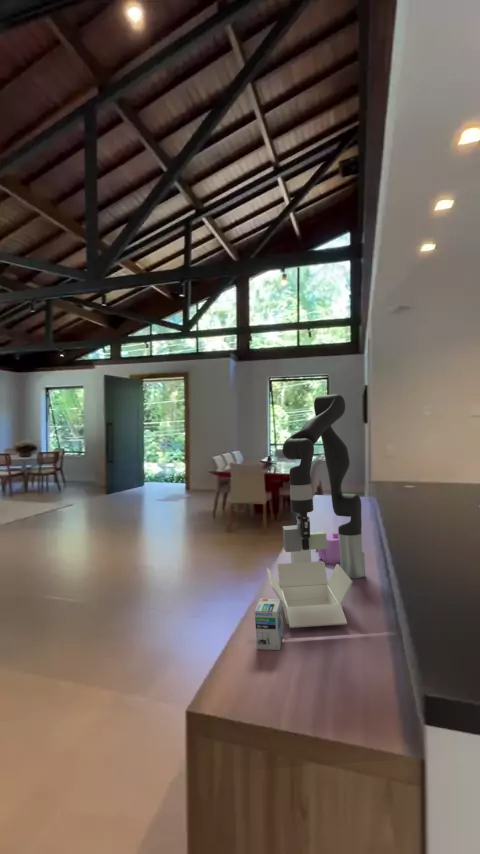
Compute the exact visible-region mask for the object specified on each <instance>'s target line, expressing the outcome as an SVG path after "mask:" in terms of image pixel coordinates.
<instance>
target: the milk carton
mask: <svg viewBox="0 0 480 854" xmlns="http://www.w3.org/2000/svg"><path fill="white" fill-rule="evenodd" d="M311 551H312V550H301V551H296V552H290V563H303V562H312V554H311Z"/></svg>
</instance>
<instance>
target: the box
mask: <svg viewBox="0 0 480 854" xmlns="http://www.w3.org/2000/svg"><path fill="white" fill-rule="evenodd" d="M304 534H307V532H304ZM326 535H327V533H326V531H325V530H317V531H310V538H309V550H311V551H312V550H317V549H326V548H327V538H326ZM282 538H283V549H284V550H285V553H291V552H296V551H301V550H303V548H302V538H301V533H300V530H299V528H298V526H297V525H296V524H295V525H283V526H282Z"/></svg>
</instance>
